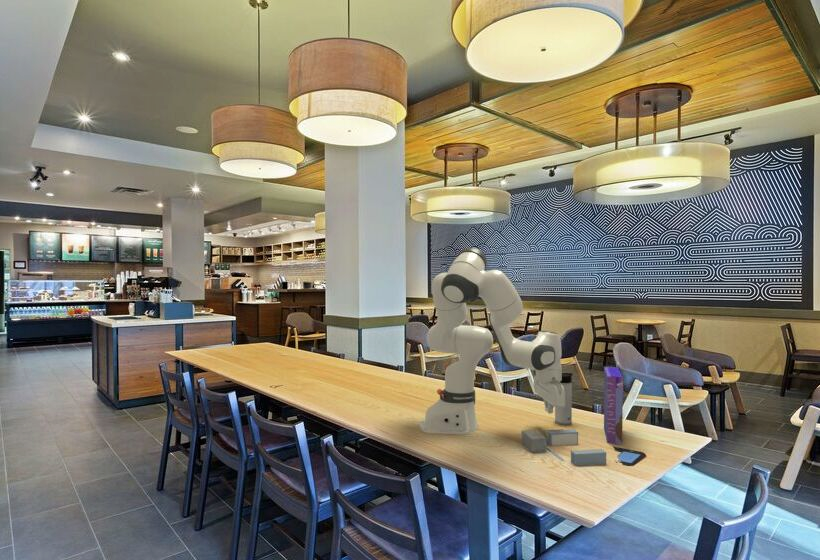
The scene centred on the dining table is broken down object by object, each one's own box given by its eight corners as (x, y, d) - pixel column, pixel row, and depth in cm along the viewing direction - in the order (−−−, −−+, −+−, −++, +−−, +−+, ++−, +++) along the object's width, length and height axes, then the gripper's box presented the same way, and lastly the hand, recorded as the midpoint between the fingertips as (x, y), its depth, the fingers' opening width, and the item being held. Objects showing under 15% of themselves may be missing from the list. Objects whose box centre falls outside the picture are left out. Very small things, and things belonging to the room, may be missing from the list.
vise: (567, 471, 133) (567, 454, 133) (547, 452, 147) (547, 437, 147) (606, 468, 135) (606, 452, 135) (582, 450, 149) (582, 435, 149)
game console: (608, 448, 151) (608, 442, 151) (648, 459, 142) (648, 452, 142) (589, 461, 141) (589, 454, 141) (631, 474, 132) (631, 466, 132)
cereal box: (622, 446, 152) (622, 376, 151) (607, 444, 153) (607, 375, 153) (617, 429, 168) (617, 366, 168) (603, 428, 170) (604, 365, 169)
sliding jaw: (550, 448, 150) (550, 433, 150) (541, 440, 157) (541, 426, 157) (578, 446, 151) (578, 432, 151) (568, 439, 158) (568, 425, 158)
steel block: (532, 457, 143) (532, 439, 143) (521, 447, 151) (521, 430, 151) (546, 456, 144) (546, 438, 144) (535, 446, 152) (535, 429, 152)
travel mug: (573, 426, 172) (573, 375, 171) (555, 425, 173) (556, 374, 173) (571, 421, 178) (571, 371, 177) (554, 420, 179) (554, 371, 179)
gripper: (570, 381, 152) (570, 421, 153) (546, 368, 173) (546, 403, 173) (552, 382, 152) (552, 422, 152) (530, 368, 172) (530, 404, 172)
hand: (549, 412), depth 163 cm, fingers closed
